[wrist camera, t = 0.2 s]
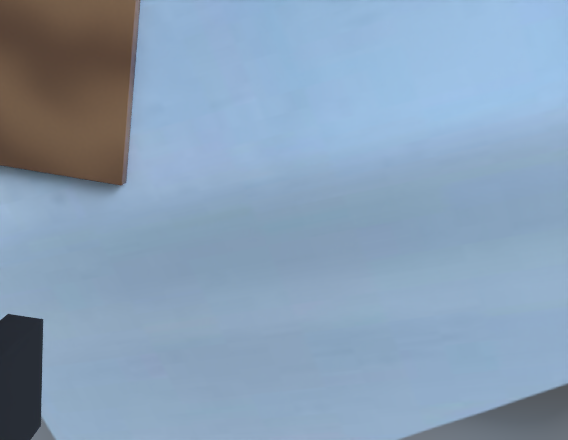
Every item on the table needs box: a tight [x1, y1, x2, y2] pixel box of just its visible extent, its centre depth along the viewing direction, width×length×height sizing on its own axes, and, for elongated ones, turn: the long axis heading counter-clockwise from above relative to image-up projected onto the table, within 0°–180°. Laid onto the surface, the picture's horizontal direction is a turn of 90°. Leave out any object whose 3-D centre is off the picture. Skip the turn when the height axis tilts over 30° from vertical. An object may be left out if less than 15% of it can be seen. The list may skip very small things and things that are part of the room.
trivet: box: [0, 0, 140, 185], centre depth 36 cm, size 20×15×1 cm
